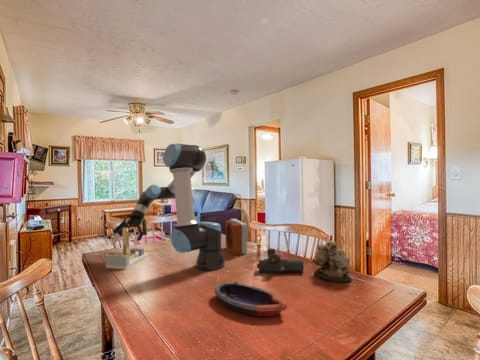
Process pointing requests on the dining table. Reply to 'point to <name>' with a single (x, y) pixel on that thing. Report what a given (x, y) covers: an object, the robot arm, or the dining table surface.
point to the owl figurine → (332, 263)
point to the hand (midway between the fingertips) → (123, 244)
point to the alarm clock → (236, 236)
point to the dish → (249, 299)
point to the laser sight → (279, 264)
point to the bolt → (126, 243)
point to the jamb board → (131, 262)
